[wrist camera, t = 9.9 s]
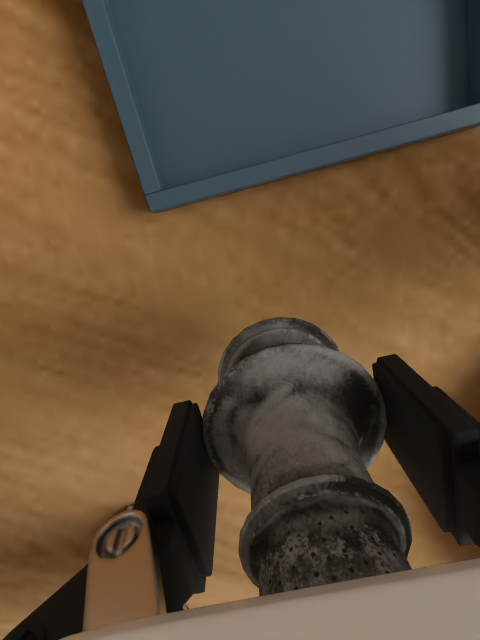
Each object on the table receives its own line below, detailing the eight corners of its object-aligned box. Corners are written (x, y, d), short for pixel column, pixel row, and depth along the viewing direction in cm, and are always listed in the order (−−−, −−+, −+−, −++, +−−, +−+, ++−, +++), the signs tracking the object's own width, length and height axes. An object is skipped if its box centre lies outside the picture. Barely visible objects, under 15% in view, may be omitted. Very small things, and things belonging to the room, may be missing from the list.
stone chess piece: (189, 405, 14) (-9, 1189, 3) (248, 285, 13) (348, 995, 1) (307, 453, 15) (525, 1209, 4) (377, 346, 13) (1175, 1112, 2)
